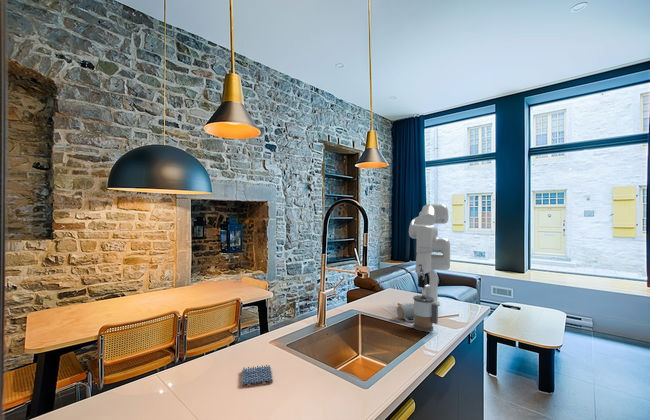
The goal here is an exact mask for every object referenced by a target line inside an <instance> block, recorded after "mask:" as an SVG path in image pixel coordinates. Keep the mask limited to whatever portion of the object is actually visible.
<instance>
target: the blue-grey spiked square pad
mask: <svg viewBox="0 0 650 420" xmlns="http://www.w3.org/2000/svg"><path fill="white" fill-rule="evenodd" d="M241 373H242V374H241V379H240V380H241V384H240V385H241V387H242V388H243V389H244V388H248V387H250V388H251V387H256V386H257V387H258V386H265V385H271V384H274V376H273V371H272V367H271V365H268V364H266V365H262V364H261V366H259V365H257V366H255V367H254V365H253V366H252V367H250V366H247V367H245V366H244V367H243V369H242V370H241Z"/></svg>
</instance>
